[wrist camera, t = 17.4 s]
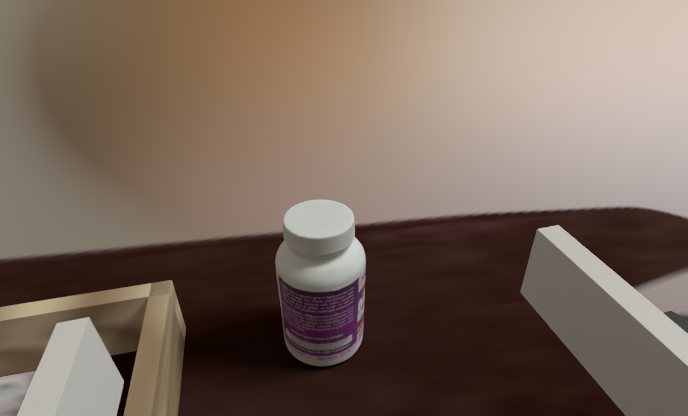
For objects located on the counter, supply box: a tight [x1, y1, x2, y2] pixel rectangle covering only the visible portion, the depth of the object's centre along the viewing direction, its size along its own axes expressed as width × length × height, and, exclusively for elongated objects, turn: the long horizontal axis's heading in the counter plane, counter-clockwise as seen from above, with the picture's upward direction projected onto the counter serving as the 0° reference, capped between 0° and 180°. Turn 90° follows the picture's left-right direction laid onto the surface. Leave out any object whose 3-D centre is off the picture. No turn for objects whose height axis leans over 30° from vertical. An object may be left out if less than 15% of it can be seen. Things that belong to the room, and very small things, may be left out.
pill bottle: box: [275, 200, 366, 366], centre depth 25 cm, size 5×5×10 cm
